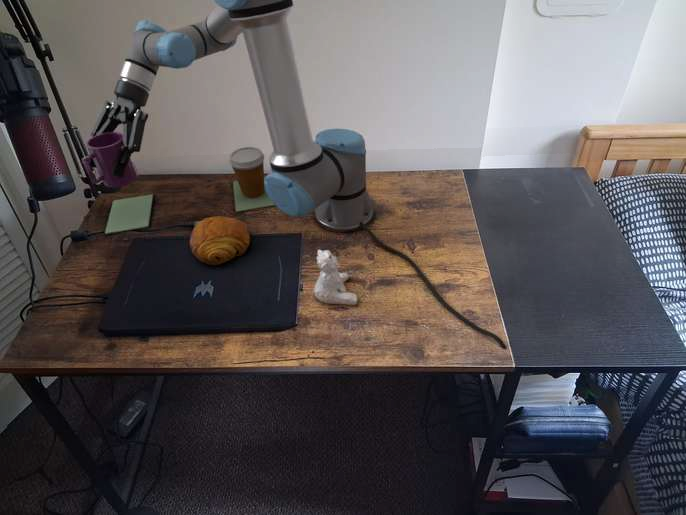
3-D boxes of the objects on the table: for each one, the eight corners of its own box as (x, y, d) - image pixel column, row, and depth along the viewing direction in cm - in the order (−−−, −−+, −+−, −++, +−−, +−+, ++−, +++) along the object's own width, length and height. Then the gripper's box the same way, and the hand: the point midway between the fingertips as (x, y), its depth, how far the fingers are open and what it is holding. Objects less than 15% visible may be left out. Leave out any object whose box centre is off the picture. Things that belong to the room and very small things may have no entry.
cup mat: (276, 205, 126) (275, 204, 126) (236, 212, 124) (235, 211, 124) (269, 176, 138) (269, 175, 138) (233, 182, 136) (232, 181, 136)
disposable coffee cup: (267, 201, 127) (260, 162, 119) (233, 202, 127) (224, 163, 120) (272, 182, 134) (266, 145, 126) (240, 183, 135) (232, 146, 127)
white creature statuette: (359, 305, 96) (358, 263, 88) (320, 315, 95) (315, 273, 87) (346, 276, 103) (344, 234, 95) (309, 285, 102) (304, 243, 94)
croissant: (193, 276, 109) (182, 254, 103) (196, 230, 119) (186, 207, 113) (254, 266, 110) (247, 244, 104) (251, 221, 120) (245, 199, 114)
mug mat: (148, 227, 121) (148, 226, 121) (105, 234, 119) (104, 233, 119) (153, 195, 133) (152, 194, 133) (113, 201, 131) (113, 200, 131)
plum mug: (124, 167, 124) (108, 129, 116) (145, 175, 120) (130, 136, 113) (86, 188, 116) (67, 148, 109) (108, 196, 113) (89, 156, 105)
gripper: (175, 99, 113) (144, 186, 113) (119, 85, 122) (91, 165, 122) (151, 85, 106) (119, 177, 107) (94, 72, 115) (65, 156, 116)
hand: (104, 171), depth 114 cm, fingers closed on plum mug, 9 cm apart
